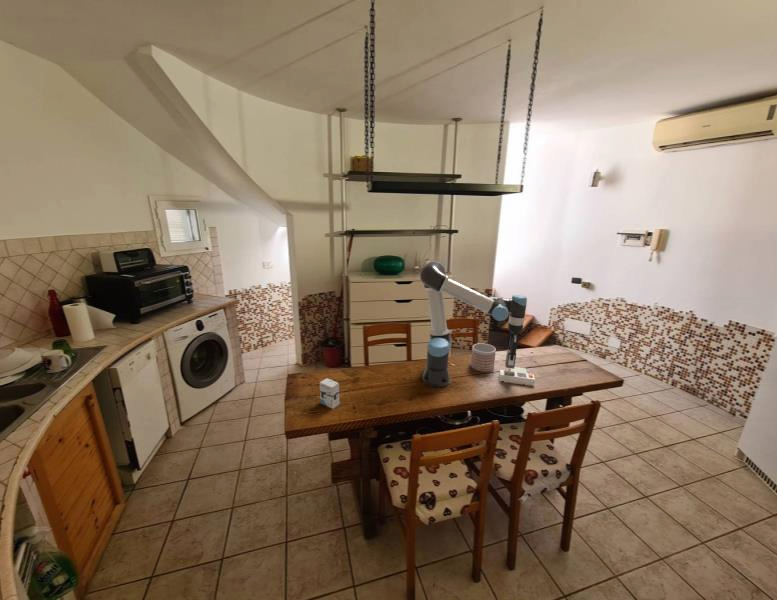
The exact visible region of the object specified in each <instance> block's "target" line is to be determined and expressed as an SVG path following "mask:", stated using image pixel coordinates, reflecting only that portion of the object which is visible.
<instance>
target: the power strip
mask: <svg viewBox="0 0 777 600" xmlns="http://www.w3.org/2000/svg"><path fill="white" fill-rule="evenodd" d="M498 379H500V380H499V382H502V381H504V383H509V382H510V383H509V384H518V385H523V384H525V386H530V385H531V387H534V386H535V383H536V378H535V375H534V373H528V372H527V373H522V372H515V371H511V370H506V369H499V372H498Z"/></svg>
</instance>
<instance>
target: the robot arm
mask: <svg viewBox="0 0 777 600" xmlns="http://www.w3.org/2000/svg"><path fill="white" fill-rule="evenodd" d="M419 277H420V281H421V283H422V284H423V286H424V287H423V288H424V289H425V290H427V297H428V298H427V299H428V306H429V315H430V326H431V330H430V331H429V338H430V339H429V341H428V342H427V345H426V349H427V350H426V351H427V352H426V367H425V369H424V372H423V374H422V382H423V383H424V384H425V385H428V386H429V387H433V388H444V387H447V386H448V385H450V382H451V377H450V373H449V369H448V368H449V366H448V365H449V355H450V351H451V347H452V343H453V339H452V336H451V332H450V329H448V327H447V316H446V307H445V298H444V294H446V295H448V296H451V297H453V298H455V299H457V300H458V301H461V302H463V303H465V304H467V305H469V306H472V307H473V308H475V309H478V310H480V311H482V312H484V313H486V314H488V315H490V316H492V318H493V319H494V320H496V321H499V322H502V321H505V320H506V319H508V323H507V330H508V331H509V332H510V333H509V342H508V350H510V353H509V360H508V365H513V364H514V357H515V355H516V356H517V347H518V342H519V336H520V335H519V333H522V332H523V329H524V322H525V321H526V318H525V316H526V311H527V303H528V298H527V296H525V295H522V294H514V295H512V297H511V298H506V297H505V298H504V297H497V296H489V297H488V296H487V295H484V294H482V293H480V292H478V291H476V290H474V289H472V288H470V287H468V286H466V285H464V284H461V283H459V282H458V281H455V280H453V279H452V278H449V276H448V274H446V270H445V267H444V265H443V264H442V263H441V262H438V261H431V262H428V263H427V264H425V266H424V267H422V269H421V270H420V273H419ZM508 316H509V317H508Z"/></svg>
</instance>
